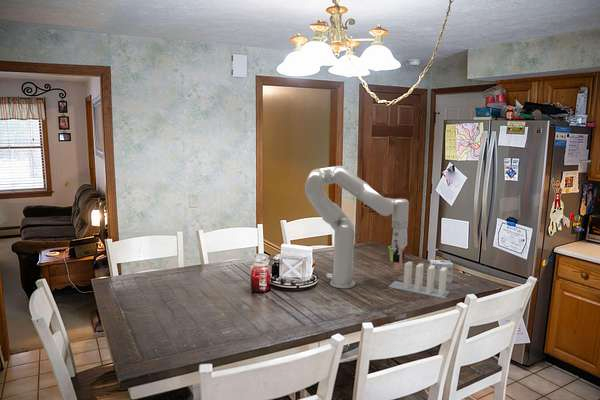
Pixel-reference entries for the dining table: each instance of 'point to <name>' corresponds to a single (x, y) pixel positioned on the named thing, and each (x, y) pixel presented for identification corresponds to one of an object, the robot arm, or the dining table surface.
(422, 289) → the board
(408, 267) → the domino
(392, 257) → the plant pot
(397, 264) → the domino
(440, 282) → the domino
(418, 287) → the domino
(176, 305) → the dining table surface
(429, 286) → the domino
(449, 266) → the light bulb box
